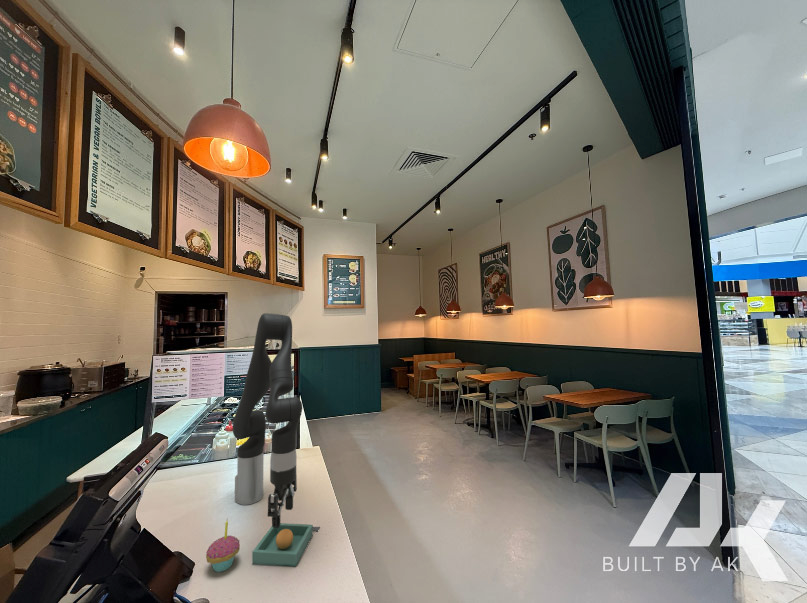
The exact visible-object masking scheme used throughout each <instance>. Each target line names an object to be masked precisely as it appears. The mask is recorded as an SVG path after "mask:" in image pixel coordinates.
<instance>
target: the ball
mask: <svg viewBox="0 0 807 603" xmlns="http://www.w3.org/2000/svg"><path fill="white" fill-rule="evenodd" d="M292 541H293V533H292V531H291V530H289V529H283V530H281V531H280V532H279V533H278V535H277V537H276V545H277V546H278V548H280V549H286V548H288V547H289V546H290V545H291V543H292Z"/></svg>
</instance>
